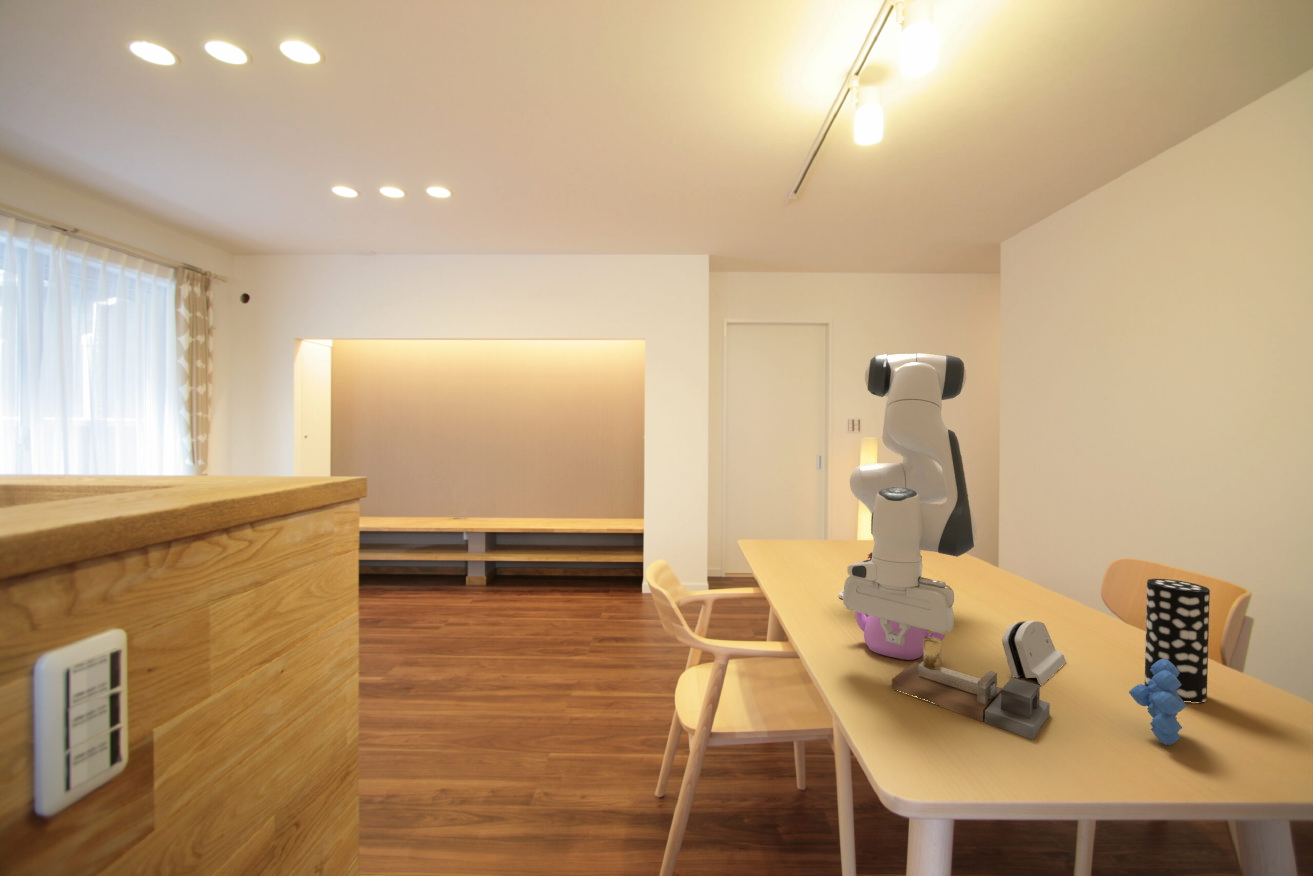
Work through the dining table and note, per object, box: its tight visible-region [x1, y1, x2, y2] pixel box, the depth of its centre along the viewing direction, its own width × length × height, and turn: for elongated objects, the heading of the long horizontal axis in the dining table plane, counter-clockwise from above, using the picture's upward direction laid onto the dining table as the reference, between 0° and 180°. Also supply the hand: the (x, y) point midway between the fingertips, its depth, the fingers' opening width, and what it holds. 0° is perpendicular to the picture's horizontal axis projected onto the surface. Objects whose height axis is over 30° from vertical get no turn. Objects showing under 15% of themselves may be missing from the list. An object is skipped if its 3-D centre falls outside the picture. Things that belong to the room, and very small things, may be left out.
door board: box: [891, 661, 1051, 741], centre depth 96 cm, size 22×11×5 cm, turn 43°
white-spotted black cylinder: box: [1144, 578, 1211, 702], centre depth 100 cm, size 8×8×20 cm
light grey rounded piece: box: [1001, 620, 1067, 686], centre depth 111 cm, size 17×5×10 cm, turn 130°
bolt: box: [918, 637, 995, 699], centre depth 98 cm, size 12×3×7 cm, turn 43°
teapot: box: [854, 611, 945, 661], centre depth 119 cm, size 13×20×11 cm, turn 55°
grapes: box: [1128, 659, 1187, 746], centre depth 86 cm, size 12×7×12 cm, turn 140°
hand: (894, 643), depth 105 cm, fingers closed
